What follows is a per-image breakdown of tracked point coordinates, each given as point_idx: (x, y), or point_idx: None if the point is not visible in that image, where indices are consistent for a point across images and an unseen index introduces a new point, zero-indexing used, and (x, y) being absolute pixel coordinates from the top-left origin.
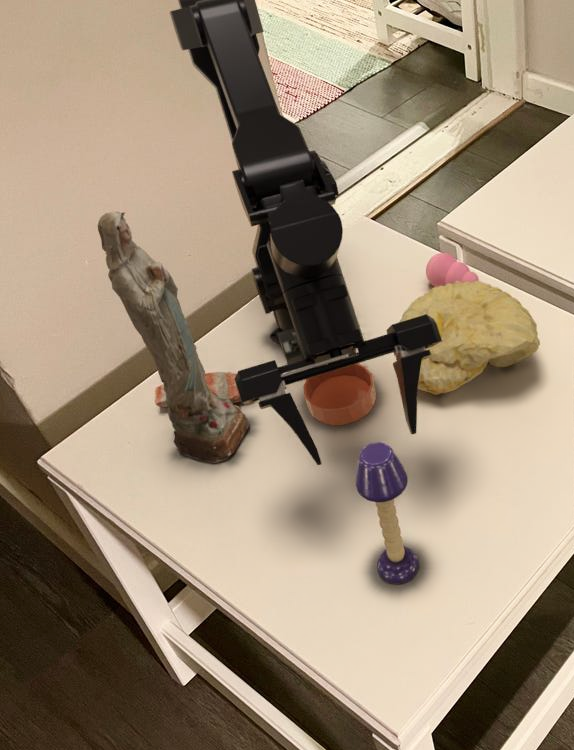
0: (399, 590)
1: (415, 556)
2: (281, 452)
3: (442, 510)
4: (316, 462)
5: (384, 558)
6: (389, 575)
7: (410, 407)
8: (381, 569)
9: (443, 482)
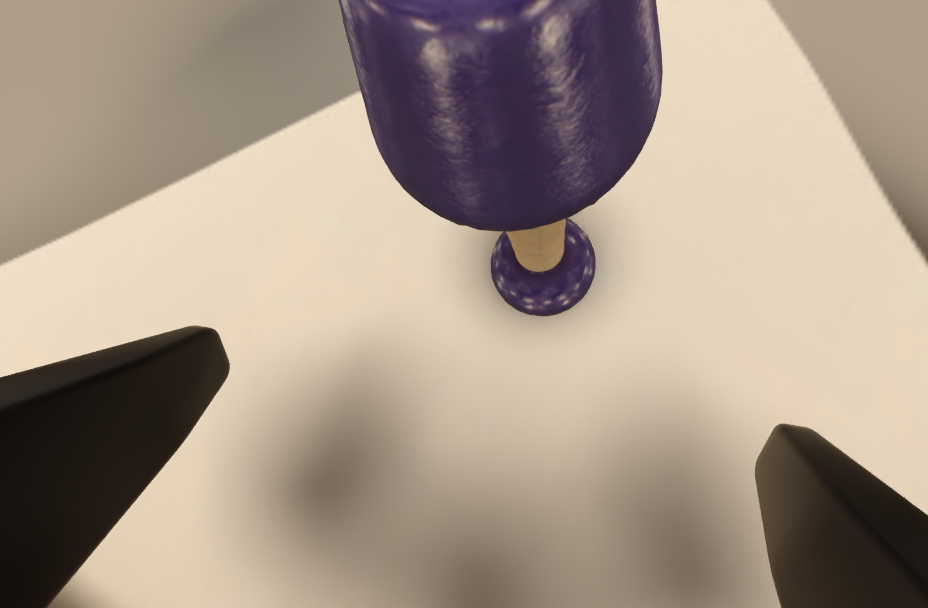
0: None
1: (495, 249)
2: None
3: (372, 360)
4: (820, 438)
5: (570, 267)
6: (578, 228)
7: (40, 386)
8: (588, 254)
9: (326, 438)
